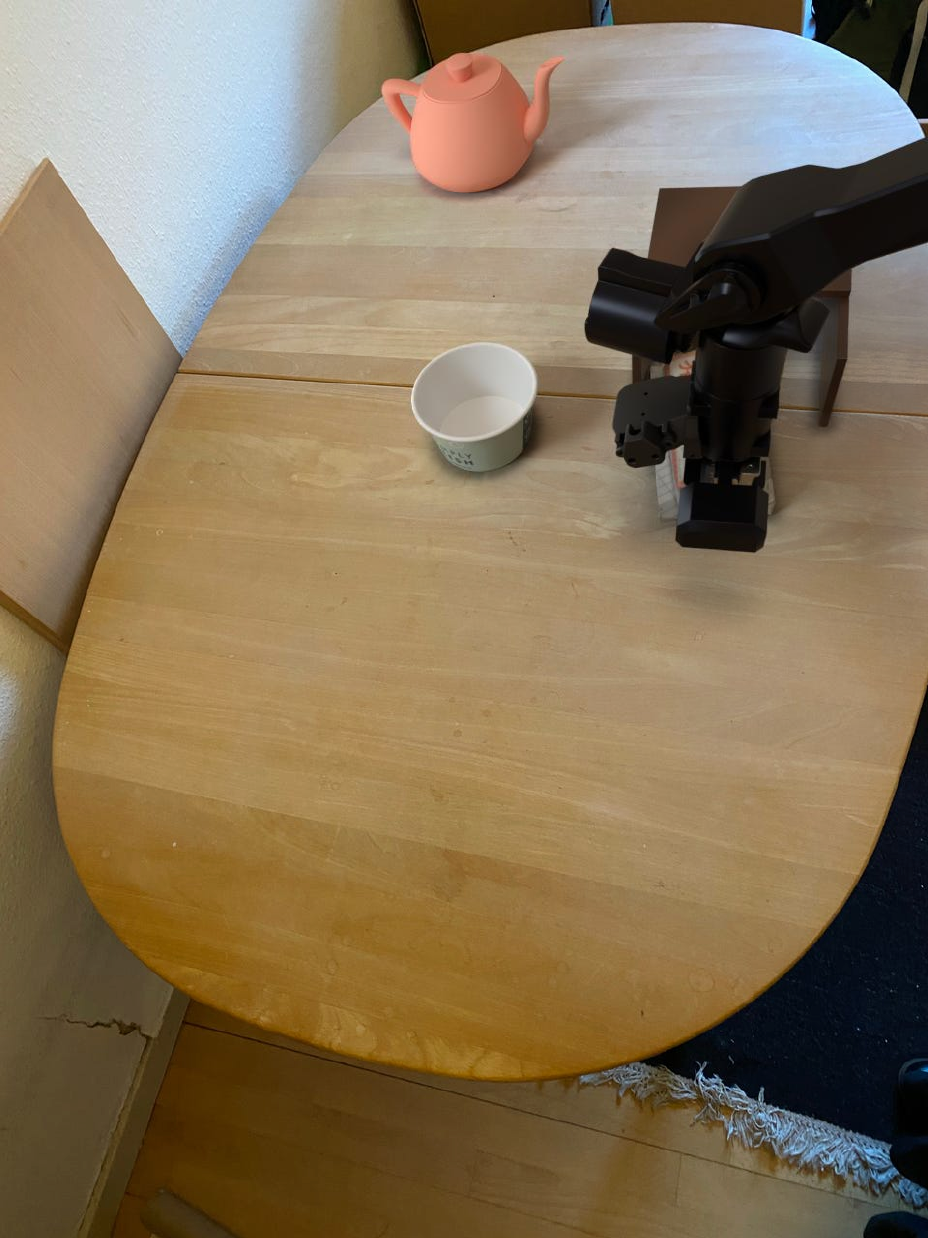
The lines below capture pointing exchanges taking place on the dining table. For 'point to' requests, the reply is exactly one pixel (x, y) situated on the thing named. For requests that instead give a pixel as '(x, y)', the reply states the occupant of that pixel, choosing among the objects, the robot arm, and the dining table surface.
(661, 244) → the cubby shelf
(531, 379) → the food container
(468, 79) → the teapot
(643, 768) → the dining table surface
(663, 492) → the packaged product
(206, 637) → the dining table surface
